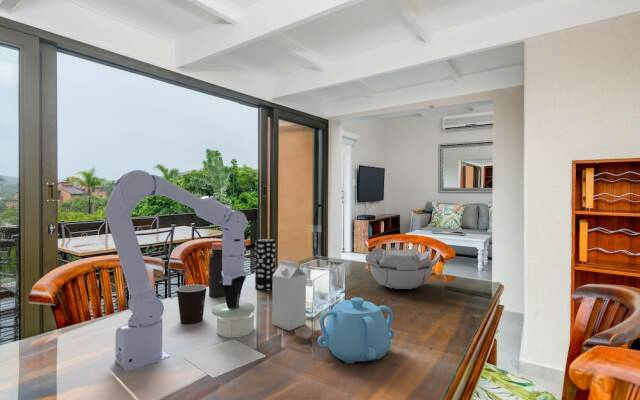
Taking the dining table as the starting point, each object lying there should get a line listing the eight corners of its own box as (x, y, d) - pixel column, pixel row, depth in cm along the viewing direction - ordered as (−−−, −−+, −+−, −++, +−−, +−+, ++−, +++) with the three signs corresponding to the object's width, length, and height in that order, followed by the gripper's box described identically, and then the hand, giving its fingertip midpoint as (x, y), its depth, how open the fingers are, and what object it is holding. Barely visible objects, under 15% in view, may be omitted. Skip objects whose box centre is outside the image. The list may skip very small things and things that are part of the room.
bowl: (230, 342, 93) (230, 323, 92) (210, 332, 99) (210, 314, 99) (260, 332, 100) (260, 314, 100) (240, 323, 107) (240, 306, 107)
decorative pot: (370, 377, 75) (371, 314, 75) (310, 356, 85) (311, 300, 84) (400, 351, 88) (401, 297, 88) (346, 335, 98) (346, 286, 98)
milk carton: (288, 319, 110) (289, 258, 110) (305, 324, 106) (306, 261, 105) (271, 325, 105) (272, 261, 104) (289, 331, 100) (289, 264, 100)
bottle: (222, 298, 132) (222, 244, 132) (205, 297, 133) (205, 244, 133) (229, 293, 139) (230, 242, 138) (213, 292, 140) (214, 241, 139)
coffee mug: (196, 326, 103) (196, 292, 103) (170, 324, 105) (170, 290, 105) (216, 313, 115) (216, 283, 114) (192, 311, 116) (192, 281, 116)
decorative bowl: (351, 281, 159) (352, 248, 159) (409, 277, 168) (409, 246, 168) (383, 300, 130) (383, 260, 130) (451, 294, 139) (451, 256, 139)
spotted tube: (252, 286, 148) (253, 239, 148) (271, 284, 152) (272, 238, 152) (258, 291, 141) (258, 241, 141) (278, 289, 144) (278, 240, 144)
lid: (226, 320, 87) (226, 302, 87) (204, 310, 95) (204, 294, 95) (262, 310, 95) (262, 294, 95) (239, 302, 103) (239, 287, 103)
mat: (213, 380, 74) (213, 377, 74) (182, 358, 83) (182, 356, 83) (266, 357, 84) (266, 355, 84) (233, 341, 93) (233, 339, 93)
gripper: (243, 259, 88) (242, 314, 88) (252, 250, 102) (252, 297, 102) (214, 259, 87) (214, 314, 88) (228, 250, 102) (228, 297, 102)
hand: (233, 305), depth 95 cm, fingers closed on lid, 3 cm apart
